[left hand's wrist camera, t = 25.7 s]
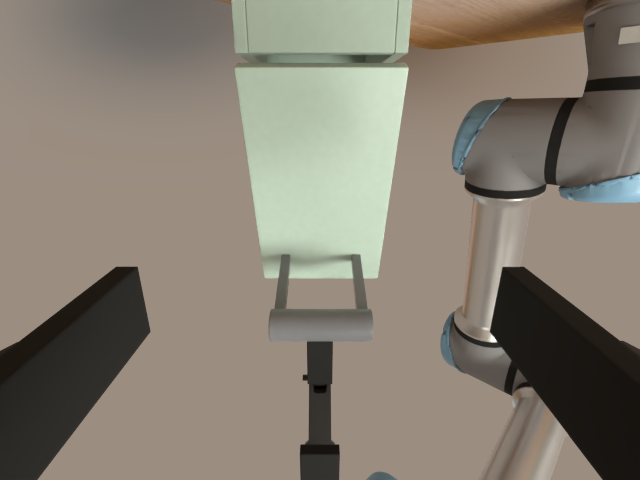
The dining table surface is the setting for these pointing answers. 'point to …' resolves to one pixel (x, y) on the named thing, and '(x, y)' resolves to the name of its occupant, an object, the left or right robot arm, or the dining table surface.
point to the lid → (321, 180)
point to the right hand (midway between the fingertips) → (319, 378)
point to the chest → (321, 30)
